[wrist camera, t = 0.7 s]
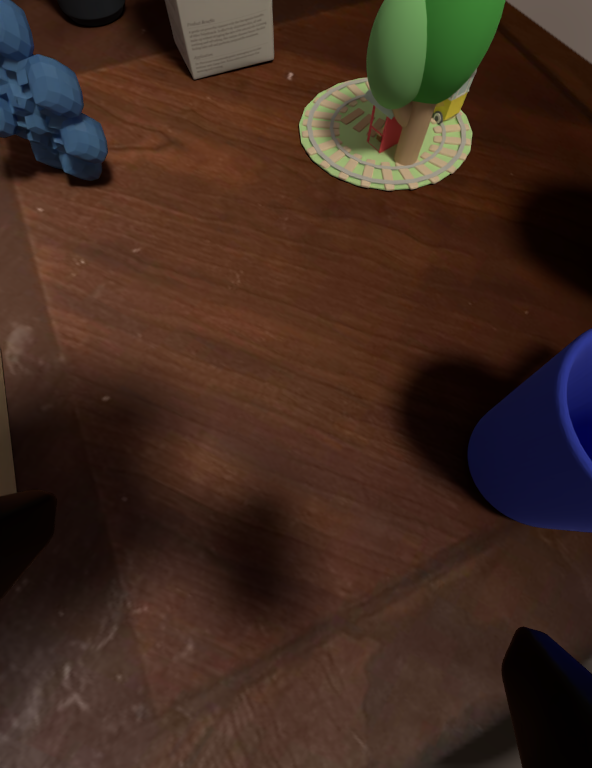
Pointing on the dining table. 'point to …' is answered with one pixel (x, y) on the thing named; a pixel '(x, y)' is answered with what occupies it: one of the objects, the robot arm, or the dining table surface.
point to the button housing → (5, 444)
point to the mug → (541, 445)
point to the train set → (404, 97)
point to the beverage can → (92, 11)
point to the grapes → (45, 103)
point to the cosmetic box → (221, 33)
